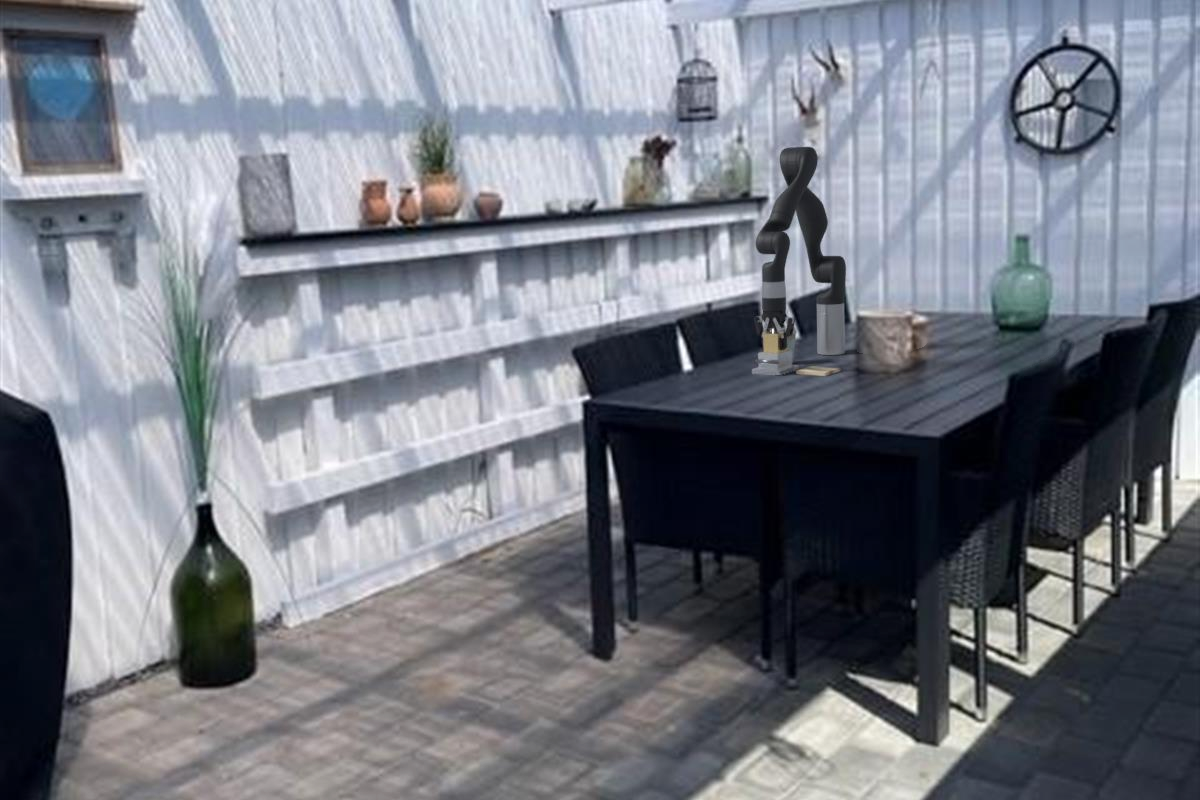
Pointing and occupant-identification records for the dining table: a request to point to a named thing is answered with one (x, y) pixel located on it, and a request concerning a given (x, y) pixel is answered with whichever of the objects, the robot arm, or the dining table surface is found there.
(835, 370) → the beige pad
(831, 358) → the dining table surface
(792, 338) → the coffee cup
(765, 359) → the block
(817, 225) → the robot arm
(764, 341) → the collar
